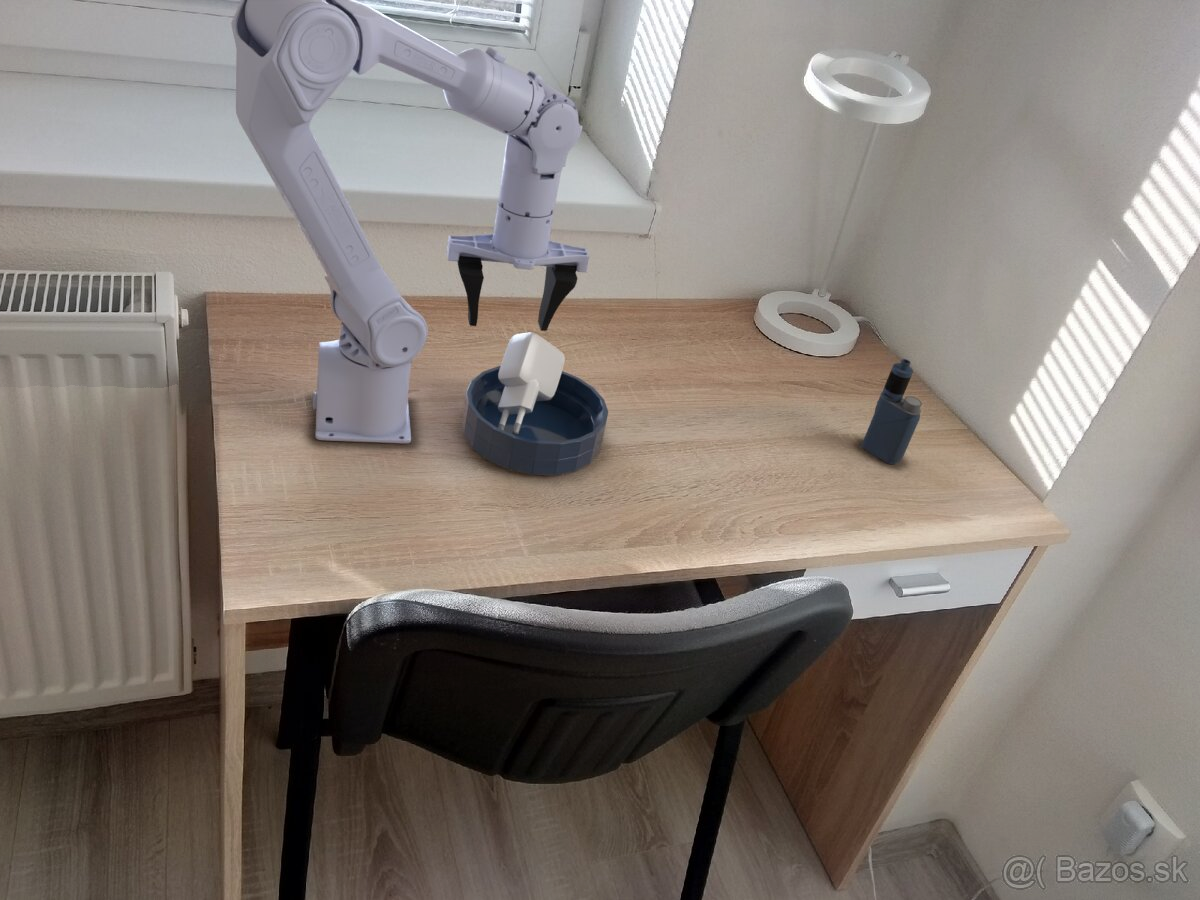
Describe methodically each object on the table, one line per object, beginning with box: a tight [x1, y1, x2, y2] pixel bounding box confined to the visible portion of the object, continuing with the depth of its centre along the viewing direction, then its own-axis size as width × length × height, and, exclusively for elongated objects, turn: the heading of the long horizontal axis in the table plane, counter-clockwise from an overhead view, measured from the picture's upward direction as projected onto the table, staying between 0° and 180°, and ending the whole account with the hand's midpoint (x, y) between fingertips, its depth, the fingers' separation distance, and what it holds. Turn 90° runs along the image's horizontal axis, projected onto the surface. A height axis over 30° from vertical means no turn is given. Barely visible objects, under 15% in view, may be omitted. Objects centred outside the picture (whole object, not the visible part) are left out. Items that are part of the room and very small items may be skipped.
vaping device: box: [860, 358, 923, 465], centre depth 120 cm, size 3×5×12 cm, turn 45°
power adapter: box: [498, 332, 566, 435], centre depth 111 cm, size 11×5×6 cm
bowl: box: [461, 365, 609, 476], centre depth 112 cm, size 15×15×4 cm
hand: (507, 323), depth 113 cm, fingers open, 7 cm apart
